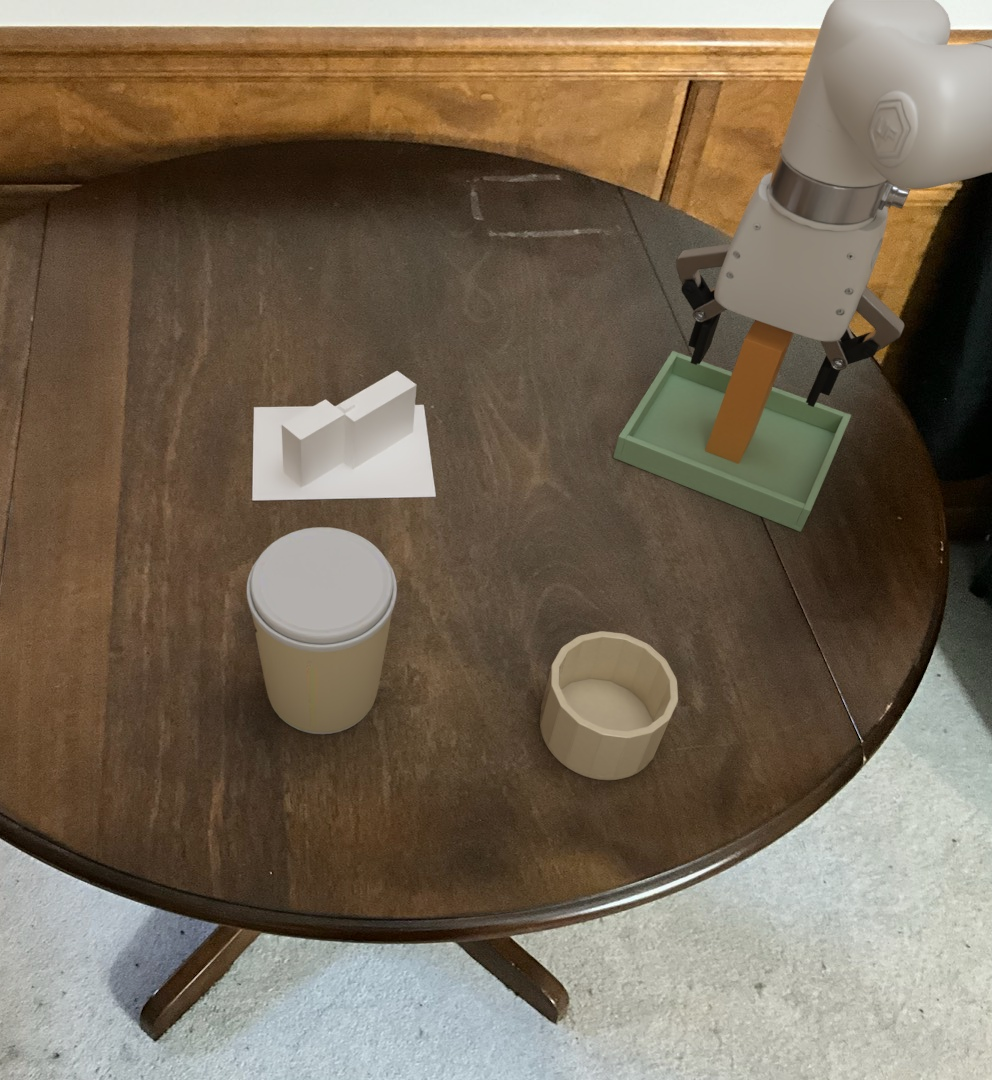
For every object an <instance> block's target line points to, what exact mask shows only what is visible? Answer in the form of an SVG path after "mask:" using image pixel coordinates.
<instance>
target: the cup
mask: <svg viewBox="0 0 992 1080" xmlns="http://www.w3.org/2000/svg"><path fill="white" fill-rule="evenodd" d="M549 670H550V671H549V675H548V678H547V682H546V686H545V689H544V694H543V697H542V701H541V704H540V714H539V728H540V734H541V736H542V739H543V742H544V743H545V745H546V747H547V749H548V750H549V752H550V753H551V754H552V755H553V756H554V758H555V759H556V760H557V761H559V763H561V764H562V765H563V766H565V767H566V768H567V769H569V770H571V771H572V772H574V773H575V774H577V775H578V774H579V775H581V776H583V777H585V778H590V779H594V780H600V781H616V780H623V779H626V778H630V777H632V776H635V775H636V774H638V773H639V772H642V770H644V769H645V768H646V767H647V766H648V765H650V763H651V761H653V759H654V758H655V756H656V753H657V751H658V749H659V747H660V745H661V743H662V740H663V738H664V735H665V733H666V731H667V728H668V726H669V724H670V722H671V719H672V717H673V715H674V712H675V710H676V708H677V705H678V703H679V691H678V690H679V689H678V680H677V677H676V675H675V674H674V671H673V670H672V668H671V666H670V664H669V662H668V661H667V659H666V658H664V657H663V656H662V654H660V653H659V652H658V651H657V650H656V649H655V648H654V647H652V646H651V645H650V644H648V643H647V642H645V641H643V640H640V639H638V638H636V637H634V636H632V635H629V634H627V633H620V632H612V631H604V630H599V631H594V632H591V633H586V634H581V635H578V636H577V637H575V638H573V639H572V640H571V641H569V642H568V643H566V644H564V645H563V646H562V647H561V648H560V649H559V651H558V653H557V655H556V657H555V658H554V660H553V662H552V664H551V667H550V669H549Z"/></svg>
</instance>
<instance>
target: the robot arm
mask: <svg viewBox="0 0 992 1080" xmlns="http://www.w3.org/2000/svg"><path fill="white" fill-rule="evenodd" d="M817 34H818V35H817V37H816V40H815V44H814V47H813V50H812V53H811V56H810V59H809V62H808V65H807V68H806V71H805V74H804V77H803V79H802V83H801V87H800V89H799V93H798V94H797V95H798V96H797V97H796V100H795V104H794V107H793V110H792V114H791V116H790V119H789V122H788V126H787V128H786V132H785V134H784V138H783V141H782V144H781V146H780V149H779V153H778V155H777V159H776V161H775V164H774V166H773V167H774V168H773V170H772V172H769V173H766V174H765V175H764V176H762V178H761V180H760V181H759V183H758V184H757V186H756V188H755V190H754V191H753V193H752V195H751V197H750V199H749V201H748V203H747V205H746V207H745V210H744V212H743V214H742V216H741V218H740V220H739V223H738V225H737V226H736V227H737V228H736V230H735V232H734V235H733V237H732V239H731V242H730V243H726V244H718V245H713V246H712V245H711V246H704V247H698V248H697V247H696V248H690V249H689V248H688V249H684V250H681V252H680V253H679V255H678V256H677V257H676V259H675V261H674V263H675V267H676V268H675V269H676V271H677V274H678V279H679V281H680V283H681V288H680V289H681V293H682V294H683V296H684V298H685V299H686V301H687V303H688V304H689V306H690V307H691V309H692V311H693V312H692V318H693V320H694V325H693V328H692V331H691V335H690V338H689V341H688V344H687V345H688V347H690V348H693V352H692V355H691V358H692V359H691V362H690V363H692V364H695V365H697V364H700V363H701V361H703V360H704V358H705V356H706V354H707V353H708V351H709V350H710V348H711V345H712V343H713V339H714V336H715V333H716V330H717V327H718V323H719V320H720V318H721V314H722V313H723V312H725V311H729V312H732V313H735V314H737V315H740V316H742V317H745V318H746V317H747V318H748V319H750V320H751V319H752V320H754V321H755V320H757V321H760V322H763V323H766V324H769V325H772V326H775V327H778V328H781V329H784V330H786V331H789V332H792V333H794V334H795V335H798V336H802V337H804V338H806V339H807V338H808V339H809V340H810V339H811V340H813V341H818V342H820V343H821V346H822V348H823V350H824V353H825V356H824V358H823V361H822V363H821V365H820V368H819V370H818V373H817V374H816V377H815V380H814V382H813V384H812V386H811V388H810V391H809V394H808V396H807V397H806V399H807V400H806V403H808V405H809V406H812V407H814V406H815V403H816V402H818V399H819V397H820V395H821V394H822V395H825V396H828V397H830V395H831V394H832V393H831V392H832V390H833V388H834V386H835V383H836V382H837V379H838V377H839V375H840V372H841V371H843V370H845V369H846V368H847V366H848V365H851V364H854V363H858V362H861V361H864V360H866V359H869V358H873V357H874V356H875V355H876V354H877V352H879V351H881V350H883V349H884V348H886V347H887V346H889V345H891V344H892V343H894V342H895V341H897V340H898V339H900V337H902V336H901V335H902V333H903V331H904V329H905V323H904V321H903V320H902V319H901V318H900V317H899V316H898V315H897V314H896V313H895V312H894V311H892V310H891V308H890V307H888V305H886V304H885V303H884V302H883V301H882V300H881V299H880V298H879V297H878V296H877V295H876V294H875V293H874V292H873V291H872V290H871V289H870V288H868V284H869V282H870V279H871V276H872V275H873V274H872V273H873V271H874V269H875V266H876V263H877V260H878V257H879V254H880V251H881V247H882V245H883V242H884V241H883V240H884V237H885V232H886V228H887V222H888V216H889V210H888V208H891V207H894V208H898V209H901V210H902V209H903V208H904V205H905V203H906V201H907V199H908V196H909V194H910V192H911V190H924V189H925V190H926V189H932V188H937V187H940V186H945V185H948V184H952V183H957V182H960V181H964V180H968V179H969V180H970V179H973V178H976V177H980V176H982V175H986V174H990V173H992V38H990V39H985V40H979V41H974V42H970V43H965V44H962V43H961V44H948V43H949V39H950V35H951V20H950V17H949V14H948V13H947V11H946V9H945V8H944V6H942V4H940V2H938V1H937V0H833V1H832V2H831V4H830V5H829V7H828V8H827V10H826V12H825V14H824V17H823V20H822V23H821V25H820V29H819V31H818V33H817ZM712 268H713V269H714V268H720V271H719V274H718V276H717V279H716V282H715V287H713V288H712V289H710V288H709V287H710V286H709V285H708V284H707V283H706V281H705V279H704V277H703V276H702V275H701V274H700V272H701V271H700V270H707V269H712ZM856 313H858V315H860V316H861V317H862V318H863V319H864V320H865V321H866V322H867V323H868V324H869V325H871V327H873V329H874V330H873V331H870V332H866V333H864V334H861V335H858V336H855V337H854V335H853V333H852V331H851V328H850V324H851V322H852V320H853V318H854V316H855V315H856Z"/></svg>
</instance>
